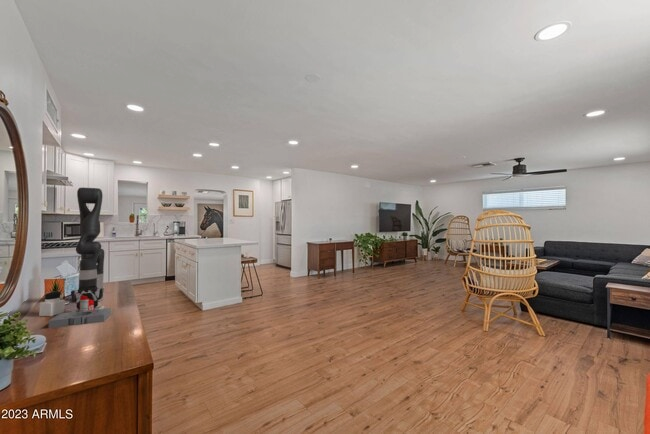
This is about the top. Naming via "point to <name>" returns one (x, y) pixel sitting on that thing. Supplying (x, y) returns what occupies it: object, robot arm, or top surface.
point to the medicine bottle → (52, 304)
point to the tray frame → (95, 308)
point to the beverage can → (87, 302)
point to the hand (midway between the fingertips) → (87, 308)
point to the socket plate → (79, 317)
